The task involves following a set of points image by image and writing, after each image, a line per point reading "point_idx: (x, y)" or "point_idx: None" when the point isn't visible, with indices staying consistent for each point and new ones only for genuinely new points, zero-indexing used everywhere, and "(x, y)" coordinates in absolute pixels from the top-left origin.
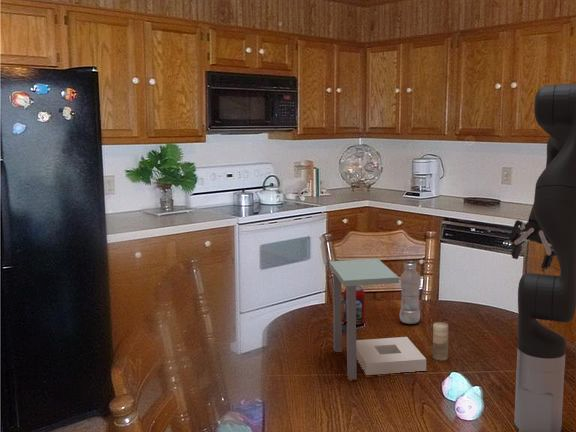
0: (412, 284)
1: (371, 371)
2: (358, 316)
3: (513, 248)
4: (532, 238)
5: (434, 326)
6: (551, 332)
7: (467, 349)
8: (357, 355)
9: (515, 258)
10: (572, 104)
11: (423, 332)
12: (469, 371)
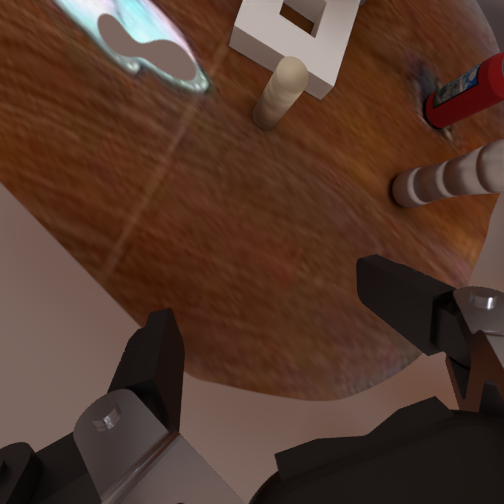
0: (477, 156)
1: None
2: (440, 96)
3: (435, 281)
4: (433, 444)
5: (294, 59)
6: None
7: (269, 185)
8: None
9: (358, 273)
10: None
11: (359, 179)
12: (192, 110)
